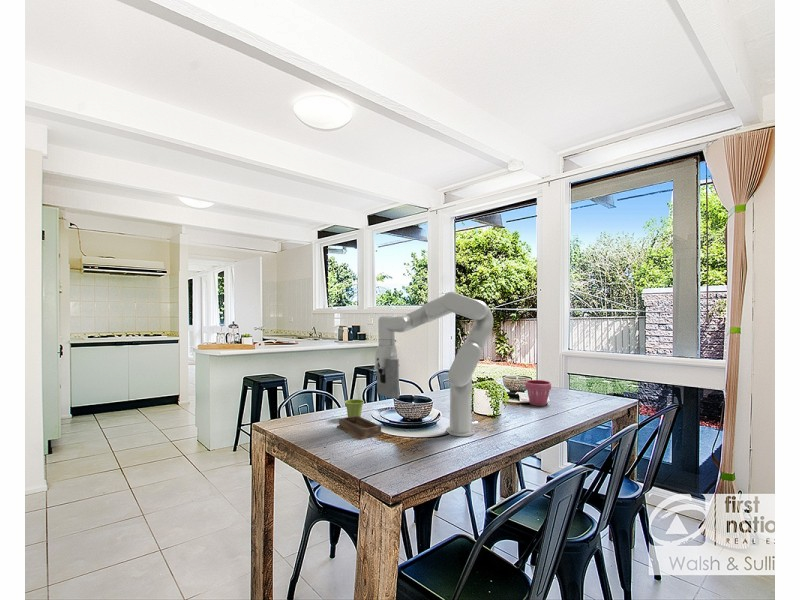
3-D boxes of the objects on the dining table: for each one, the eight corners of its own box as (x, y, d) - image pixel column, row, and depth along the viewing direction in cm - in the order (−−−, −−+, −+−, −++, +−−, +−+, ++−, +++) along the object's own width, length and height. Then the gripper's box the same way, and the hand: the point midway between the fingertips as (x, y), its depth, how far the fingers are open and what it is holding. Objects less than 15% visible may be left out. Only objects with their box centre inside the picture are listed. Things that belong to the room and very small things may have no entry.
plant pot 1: (341, 420, 206) (341, 402, 206) (349, 415, 215) (349, 398, 215) (358, 422, 203) (359, 404, 203) (366, 417, 212) (366, 400, 212)
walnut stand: (359, 423, 202) (359, 415, 202) (383, 434, 186) (383, 425, 186) (336, 427, 195) (336, 419, 195) (359, 439, 179) (360, 430, 179)
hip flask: (400, 397, 193) (399, 353, 193) (393, 399, 191) (392, 354, 191) (381, 392, 206) (380, 350, 206) (374, 393, 204) (373, 351, 204)
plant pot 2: (520, 401, 251) (520, 379, 251) (542, 400, 254) (542, 379, 254) (533, 407, 237) (533, 384, 237) (555, 406, 240) (556, 383, 240)
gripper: (396, 341, 207) (396, 378, 207) (367, 343, 197) (367, 383, 196) (405, 342, 201) (406, 381, 201) (376, 344, 191) (376, 385, 190)
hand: (387, 381), depth 199 cm, fingers closed on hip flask, 3 cm apart
